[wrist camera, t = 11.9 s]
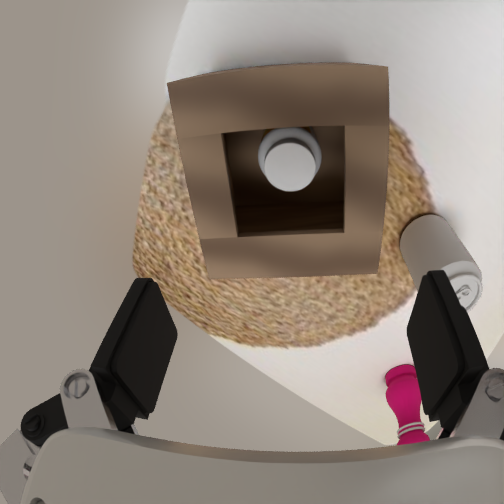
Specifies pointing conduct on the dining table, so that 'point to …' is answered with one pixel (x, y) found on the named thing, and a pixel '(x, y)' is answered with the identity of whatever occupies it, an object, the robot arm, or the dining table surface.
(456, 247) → the can
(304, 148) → the supplement bottle
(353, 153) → the drop box
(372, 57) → the dining table surface
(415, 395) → the pepper mill
